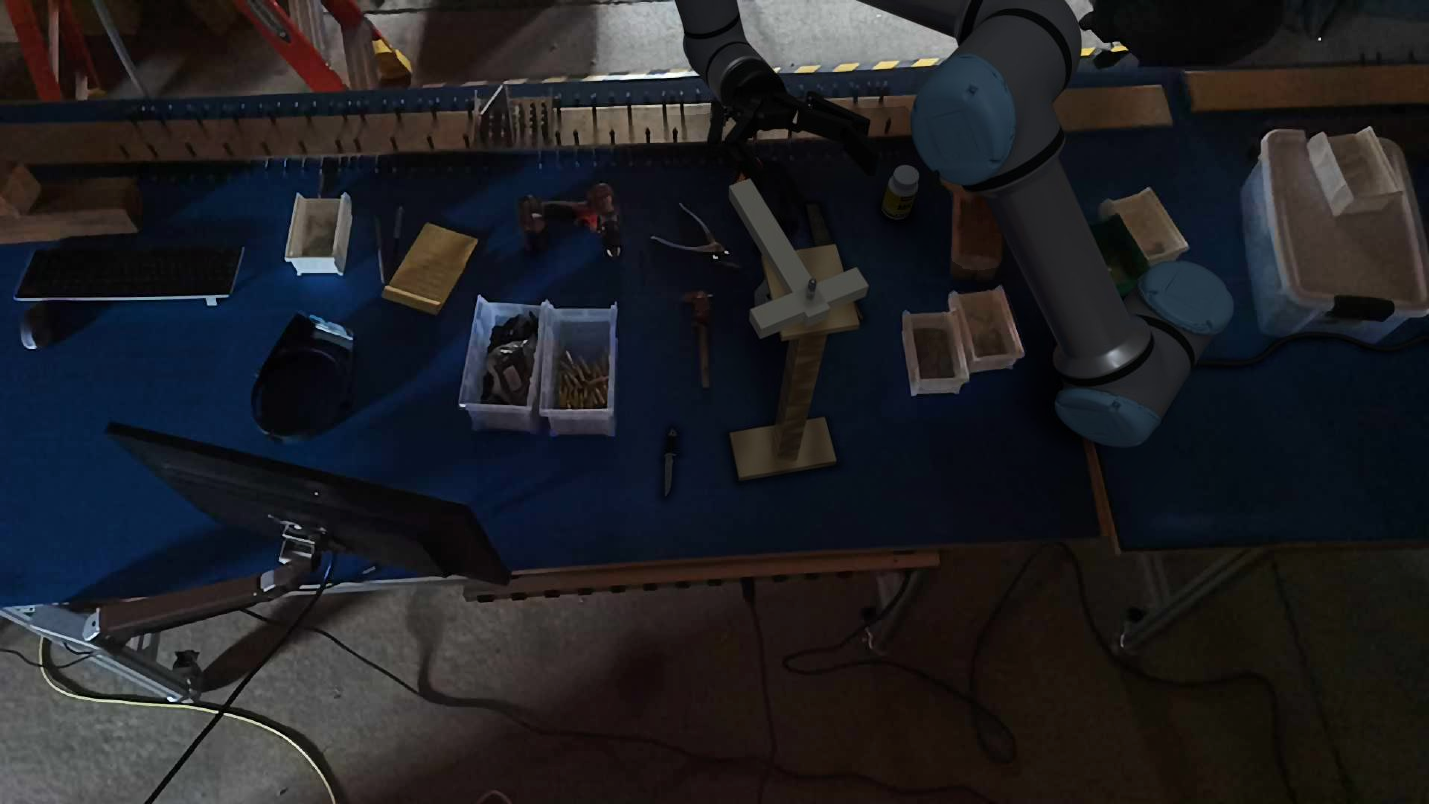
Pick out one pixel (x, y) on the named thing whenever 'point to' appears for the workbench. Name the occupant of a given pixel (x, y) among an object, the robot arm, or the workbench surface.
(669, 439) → the knife
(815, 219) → the hand saw
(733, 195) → the grey t-shaped block
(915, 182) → the supplement bottle
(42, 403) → the workbench surface
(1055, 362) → the robot arm
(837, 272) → the stand
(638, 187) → the workbench surface
